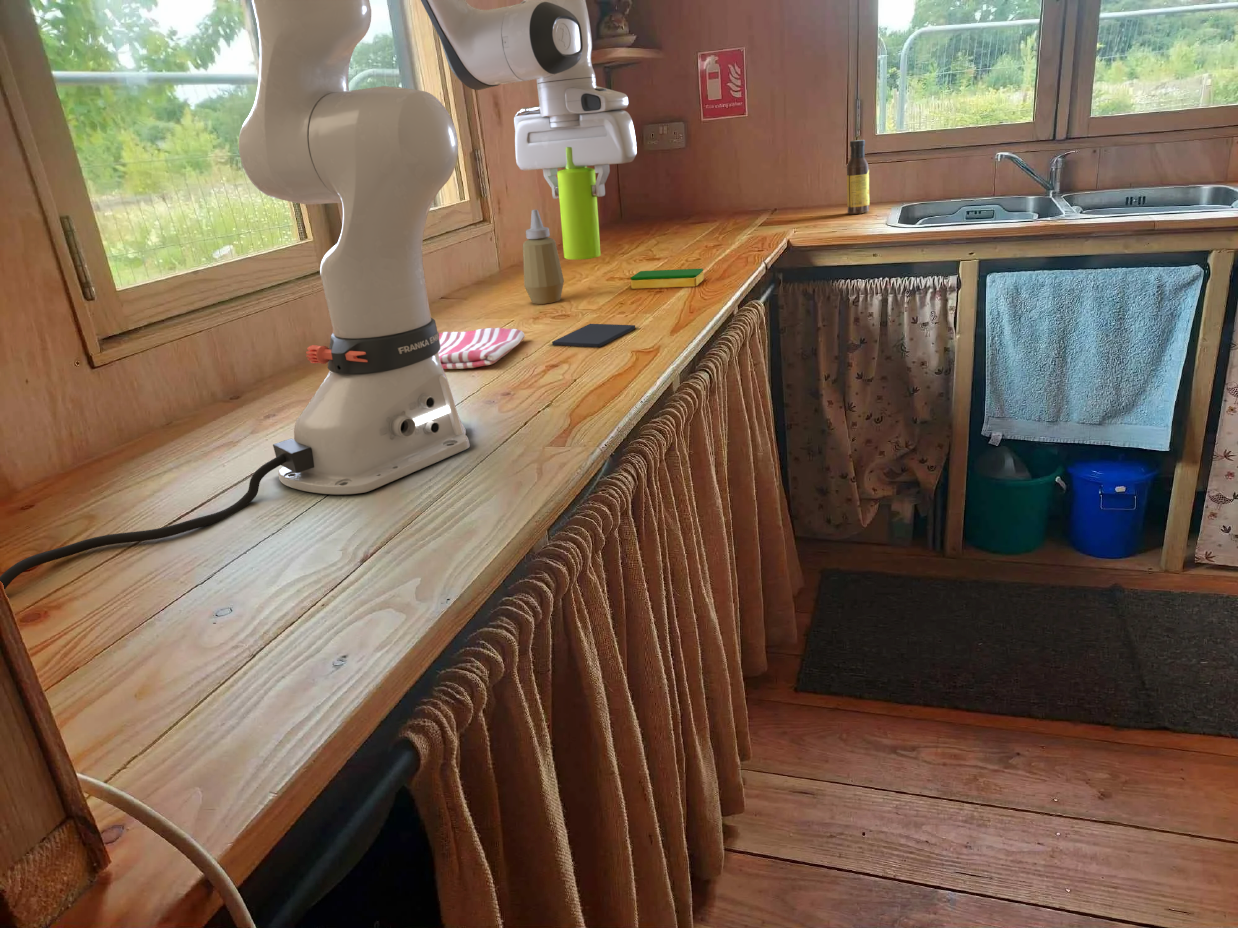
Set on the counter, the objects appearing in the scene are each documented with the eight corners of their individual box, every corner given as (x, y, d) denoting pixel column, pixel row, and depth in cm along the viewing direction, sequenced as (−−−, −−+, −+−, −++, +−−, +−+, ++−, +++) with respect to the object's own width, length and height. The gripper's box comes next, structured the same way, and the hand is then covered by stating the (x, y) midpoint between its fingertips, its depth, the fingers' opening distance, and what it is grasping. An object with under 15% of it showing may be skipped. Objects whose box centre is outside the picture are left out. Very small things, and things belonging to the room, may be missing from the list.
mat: (599, 347, 138) (598, 343, 138) (552, 345, 143) (551, 341, 142) (635, 328, 148) (635, 325, 147) (590, 327, 152) (590, 323, 152)
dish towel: (398, 347, 152) (395, 327, 151) (527, 340, 147) (524, 320, 146) (355, 376, 136) (350, 354, 135) (497, 369, 132) (494, 347, 131)
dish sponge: (640, 282, 186) (639, 270, 185) (704, 279, 182) (703, 268, 181) (630, 289, 180) (629, 277, 179) (696, 287, 175) (695, 275, 175)
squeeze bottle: (574, 297, 178) (563, 206, 171) (550, 306, 172) (538, 212, 165) (542, 296, 182) (531, 207, 175) (518, 305, 176) (505, 213, 169)
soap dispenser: (602, 259, 136) (593, 122, 128) (559, 260, 138) (548, 124, 130) (610, 252, 141) (602, 120, 133) (569, 253, 143) (558, 122, 135)
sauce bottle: (873, 212, 251) (874, 138, 244) (856, 215, 249) (856, 141, 241) (859, 211, 257) (860, 139, 249) (842, 213, 254) (842, 141, 247)
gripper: (500, 109, 134) (513, 202, 139) (616, 96, 124) (625, 197, 129) (524, 107, 139) (536, 197, 144) (637, 94, 129) (645, 192, 134)
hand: (579, 197), depth 136 cm, fingers closed on soap dispenser, 6 cm apart
